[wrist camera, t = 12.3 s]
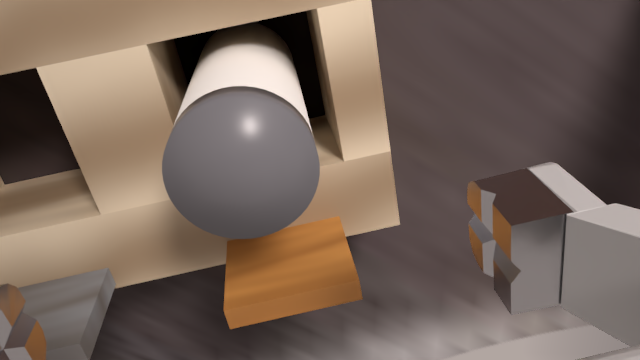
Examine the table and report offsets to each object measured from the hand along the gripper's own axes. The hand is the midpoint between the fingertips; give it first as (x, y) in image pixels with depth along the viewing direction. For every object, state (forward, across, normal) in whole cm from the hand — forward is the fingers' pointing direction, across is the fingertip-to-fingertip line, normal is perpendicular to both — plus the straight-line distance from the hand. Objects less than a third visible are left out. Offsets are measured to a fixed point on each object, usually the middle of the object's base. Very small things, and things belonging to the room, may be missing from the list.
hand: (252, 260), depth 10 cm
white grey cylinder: (+14, 0, +1) cm, 14 cm away
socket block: (+14, +4, +1) cm, 15 cm away
